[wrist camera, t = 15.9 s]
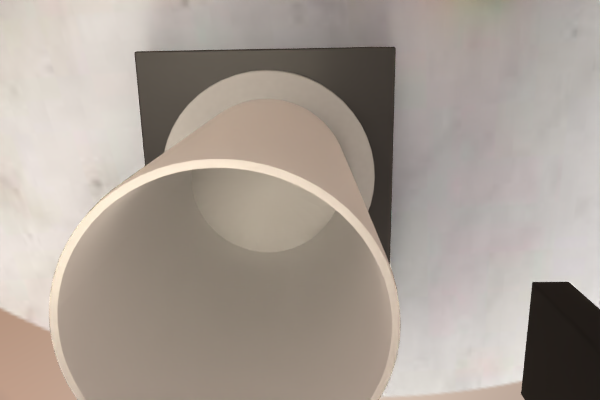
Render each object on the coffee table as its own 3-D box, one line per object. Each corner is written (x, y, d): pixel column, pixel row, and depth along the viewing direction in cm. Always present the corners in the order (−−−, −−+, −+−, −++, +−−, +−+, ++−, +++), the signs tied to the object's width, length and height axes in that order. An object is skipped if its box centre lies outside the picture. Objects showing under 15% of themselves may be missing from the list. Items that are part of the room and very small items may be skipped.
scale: (387, 47, 29) (397, 46, 26) (382, 301, 33) (390, 327, 30) (148, 51, 30) (130, 51, 26) (170, 304, 33) (156, 330, 30)
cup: (332, 264, 29) (365, 499, 14) (180, 241, 29) (40, 455, 13) (360, 112, 27) (438, 189, 12) (197, 86, 27) (54, 128, 11)
